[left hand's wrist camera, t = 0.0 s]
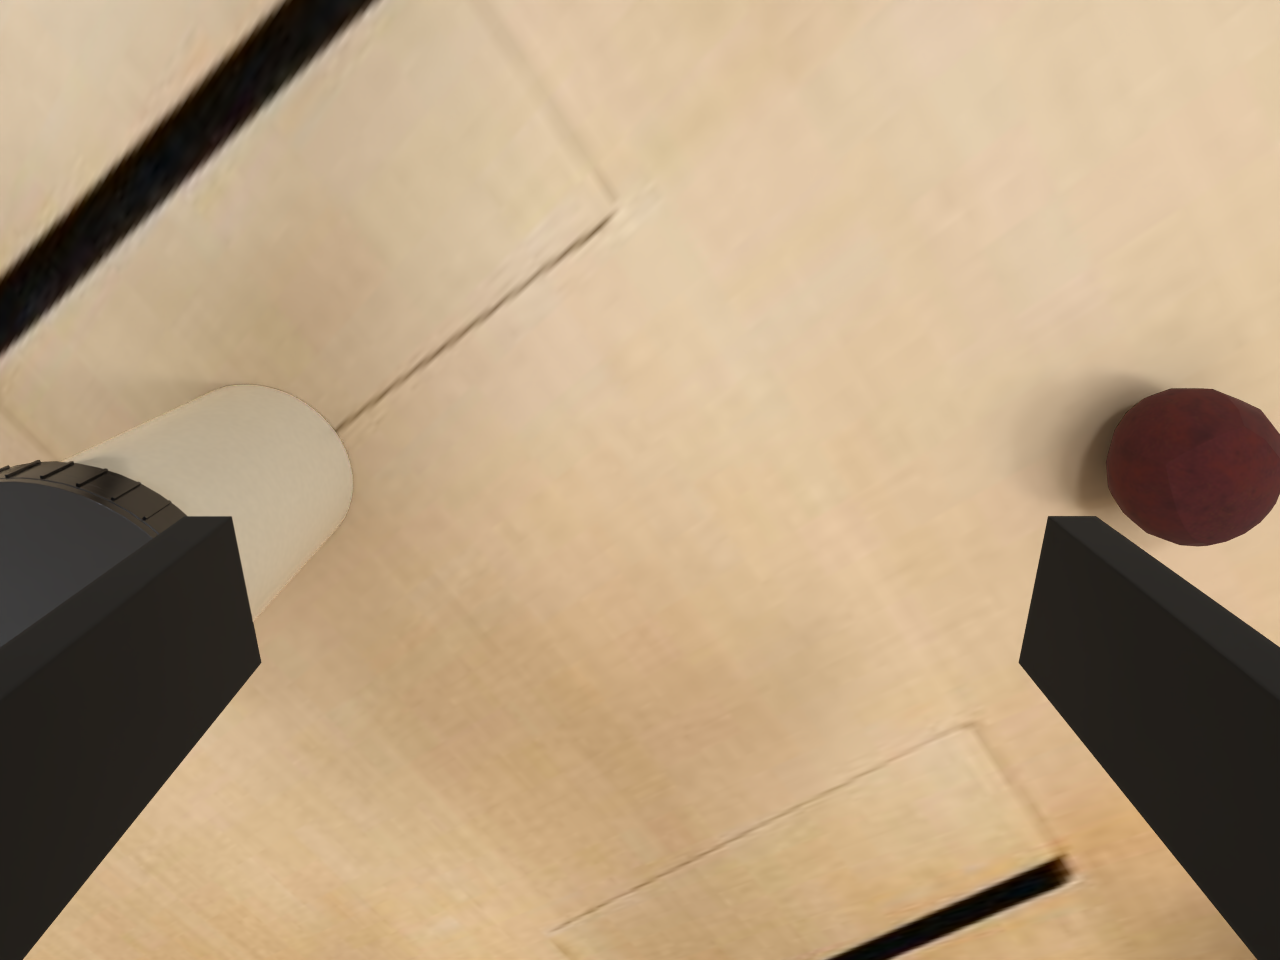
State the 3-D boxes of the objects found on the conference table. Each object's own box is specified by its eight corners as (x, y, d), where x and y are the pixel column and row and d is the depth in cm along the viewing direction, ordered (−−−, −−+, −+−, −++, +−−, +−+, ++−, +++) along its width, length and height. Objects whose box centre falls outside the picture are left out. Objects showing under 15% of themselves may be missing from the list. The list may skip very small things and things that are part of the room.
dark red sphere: (1109, 533, 43) (1194, 595, 36) (1053, 421, 41) (1134, 465, 34) (1239, 463, 41) (1353, 515, 35) (1189, 343, 39) (1301, 374, 32)
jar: (247, 582, 44) (55, 773, 30) (130, 437, 41) (-146, 571, 27) (388, 506, 42) (259, 670, 28) (278, 350, 39) (69, 442, 25)
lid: (83, 761, 31) (46, 799, 29) (-130, 543, 28) (-187, 570, 26) (302, 651, 30) (278, 683, 28) (103, 403, 26) (60, 421, 24)
